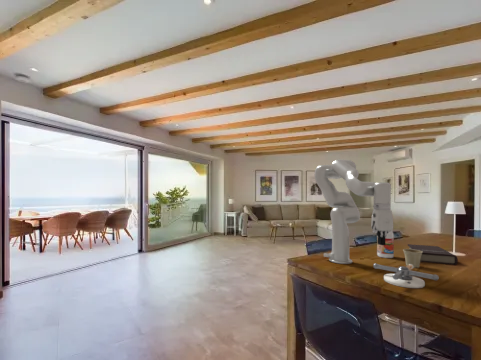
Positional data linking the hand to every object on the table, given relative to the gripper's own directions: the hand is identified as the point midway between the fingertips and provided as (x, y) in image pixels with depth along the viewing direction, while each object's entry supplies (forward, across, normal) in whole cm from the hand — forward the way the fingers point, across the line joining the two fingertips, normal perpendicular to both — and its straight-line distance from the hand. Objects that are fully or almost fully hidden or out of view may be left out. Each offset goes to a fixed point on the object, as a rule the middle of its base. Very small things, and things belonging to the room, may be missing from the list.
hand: (381, 244), depth 139 cm
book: (+16, +62, +18) cm, 66 cm away
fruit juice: (+15, +36, +29) cm, 49 cm away
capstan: (+13, +1, -12) cm, 17 cm away
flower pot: (+15, +31, +7) cm, 35 cm away
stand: (+15, +1, -12) cm, 19 cm away
